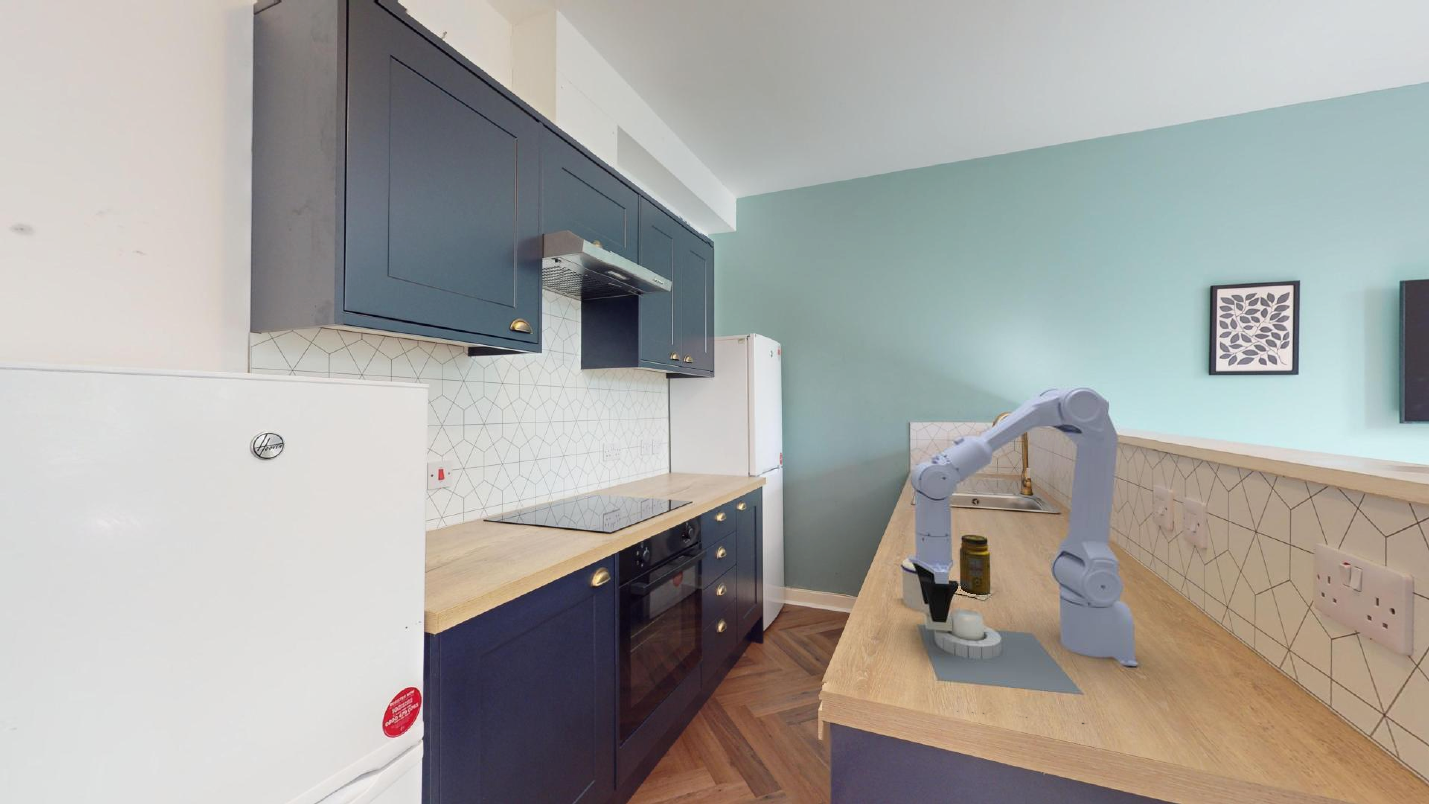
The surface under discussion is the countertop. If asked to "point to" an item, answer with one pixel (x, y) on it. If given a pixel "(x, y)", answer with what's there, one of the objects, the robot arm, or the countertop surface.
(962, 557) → the condiment
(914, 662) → the countertop surface
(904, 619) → the countertop surface
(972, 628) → the cream post on cylinder
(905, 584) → the teacup with lid
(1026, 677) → the stand
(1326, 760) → the countertop surface
